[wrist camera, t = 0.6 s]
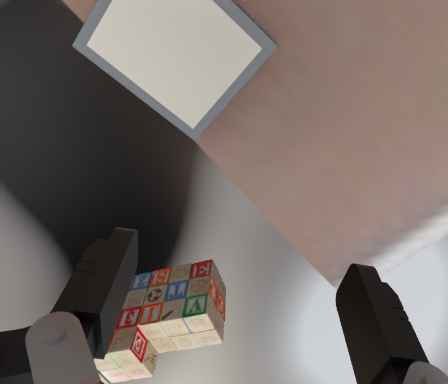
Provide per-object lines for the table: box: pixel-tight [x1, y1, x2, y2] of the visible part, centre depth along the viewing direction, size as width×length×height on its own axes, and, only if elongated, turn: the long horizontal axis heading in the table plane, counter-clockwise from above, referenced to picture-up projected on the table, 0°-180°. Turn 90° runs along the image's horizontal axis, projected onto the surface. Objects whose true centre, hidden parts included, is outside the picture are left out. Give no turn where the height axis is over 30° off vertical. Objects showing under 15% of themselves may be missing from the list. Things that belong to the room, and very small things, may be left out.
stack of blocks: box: [94, 260, 226, 384], centre depth 45 cm, size 21×6×12 cm, turn 108°
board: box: [72, 0, 278, 141], centre depth 31 cm, size 12×14×2 cm
